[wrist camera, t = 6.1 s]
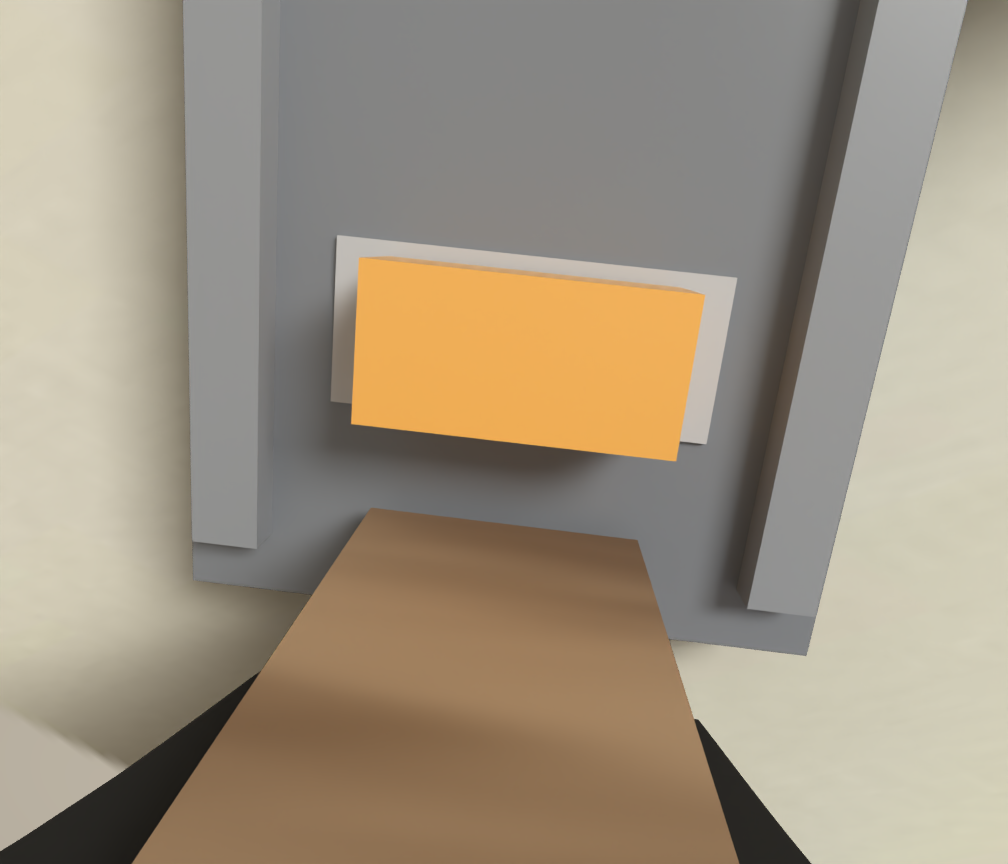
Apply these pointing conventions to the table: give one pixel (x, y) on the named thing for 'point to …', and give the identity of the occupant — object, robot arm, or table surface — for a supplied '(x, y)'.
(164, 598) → the table surface
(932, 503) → the table surface
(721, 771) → the robot arm
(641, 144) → the grey railed tray
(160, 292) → the table surface
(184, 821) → the tan wooden post
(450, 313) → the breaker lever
